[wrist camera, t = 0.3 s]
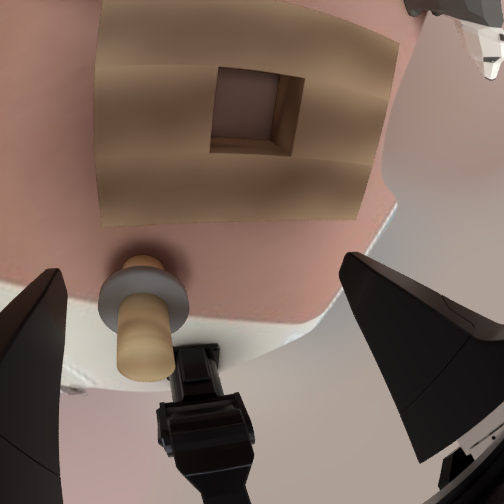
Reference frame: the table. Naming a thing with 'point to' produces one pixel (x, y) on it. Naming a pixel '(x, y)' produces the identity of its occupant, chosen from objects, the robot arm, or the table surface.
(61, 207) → the table surface
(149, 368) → the tan piece
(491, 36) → the giant panda
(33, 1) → the table surface
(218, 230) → the table surface
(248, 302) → the table surface
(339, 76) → the walnut board
